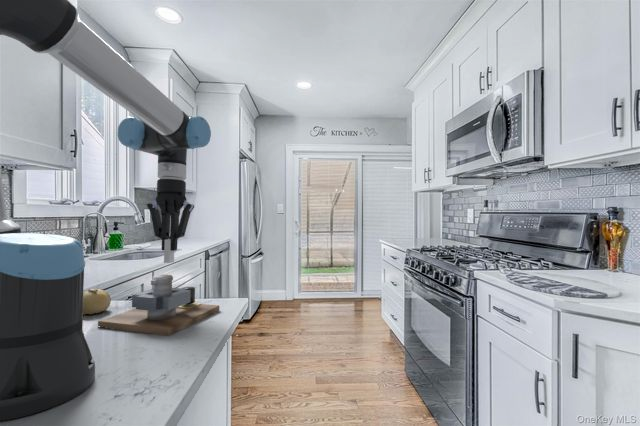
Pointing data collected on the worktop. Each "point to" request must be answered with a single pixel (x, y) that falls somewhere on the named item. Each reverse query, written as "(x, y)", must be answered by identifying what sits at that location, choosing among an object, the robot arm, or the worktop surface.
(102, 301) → the onion
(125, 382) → the worktop surface
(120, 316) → the base
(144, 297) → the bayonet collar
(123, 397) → the worktop surface
